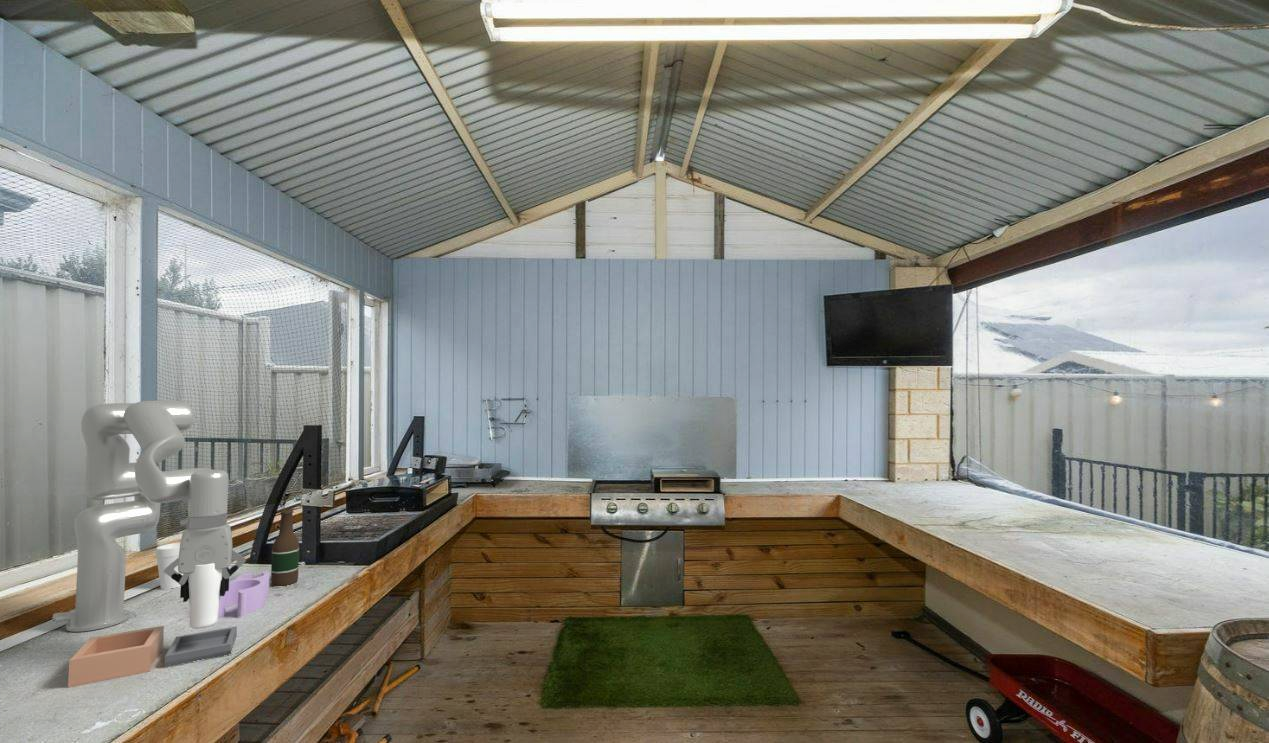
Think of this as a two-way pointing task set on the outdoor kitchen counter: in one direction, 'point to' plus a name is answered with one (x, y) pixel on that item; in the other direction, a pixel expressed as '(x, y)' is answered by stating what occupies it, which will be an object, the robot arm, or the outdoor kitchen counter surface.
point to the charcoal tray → (201, 646)
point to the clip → (246, 594)
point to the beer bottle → (285, 553)
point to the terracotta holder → (116, 656)
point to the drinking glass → (204, 595)
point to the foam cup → (167, 563)
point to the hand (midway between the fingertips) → (205, 596)
